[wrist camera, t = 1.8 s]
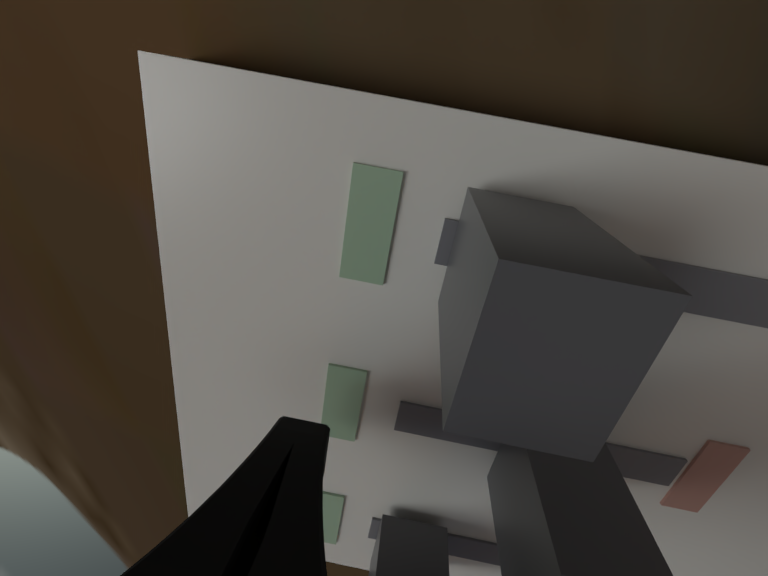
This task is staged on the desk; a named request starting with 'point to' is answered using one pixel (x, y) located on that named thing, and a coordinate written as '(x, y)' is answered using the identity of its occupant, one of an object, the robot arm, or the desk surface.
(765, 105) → the desk surface
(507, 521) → the block
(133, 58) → the desk surface
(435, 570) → the block
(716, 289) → the breaker panel
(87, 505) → the desk surface
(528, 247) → the block
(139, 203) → the desk surface
